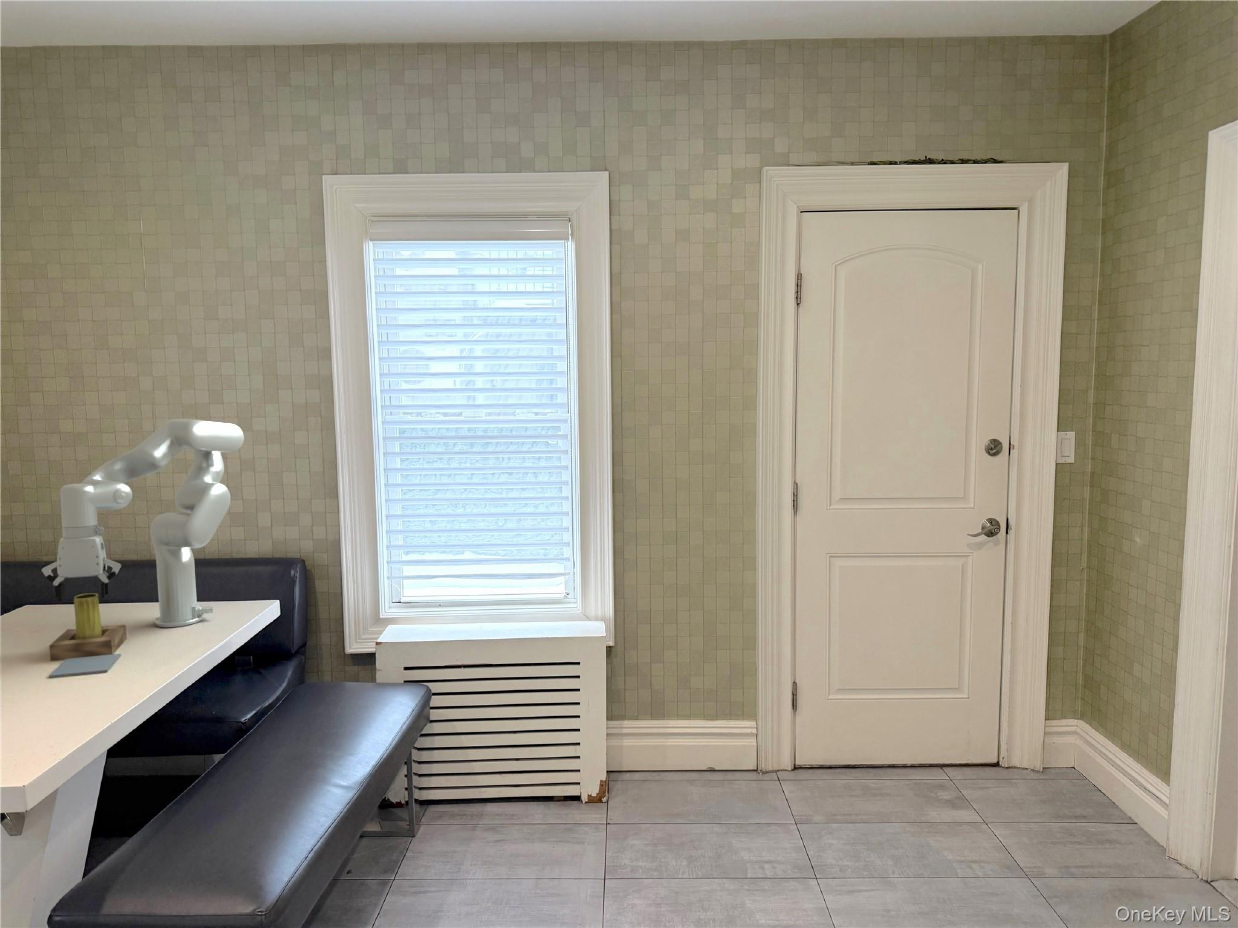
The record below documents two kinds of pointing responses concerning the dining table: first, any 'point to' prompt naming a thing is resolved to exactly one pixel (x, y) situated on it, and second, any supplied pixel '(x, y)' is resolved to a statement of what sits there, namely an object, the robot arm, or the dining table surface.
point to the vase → (87, 616)
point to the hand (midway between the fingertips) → (83, 598)
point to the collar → (87, 643)
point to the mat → (85, 665)
